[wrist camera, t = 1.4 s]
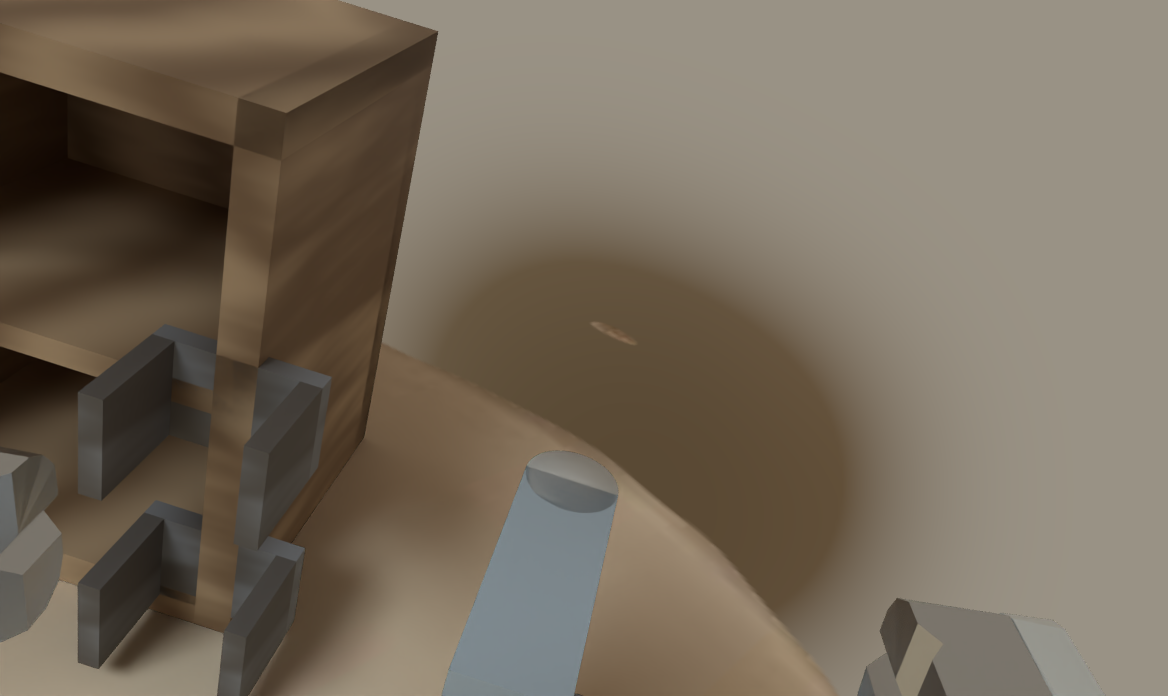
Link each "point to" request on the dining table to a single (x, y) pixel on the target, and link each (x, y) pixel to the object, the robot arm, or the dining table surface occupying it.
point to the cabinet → (197, 288)
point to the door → (539, 584)
